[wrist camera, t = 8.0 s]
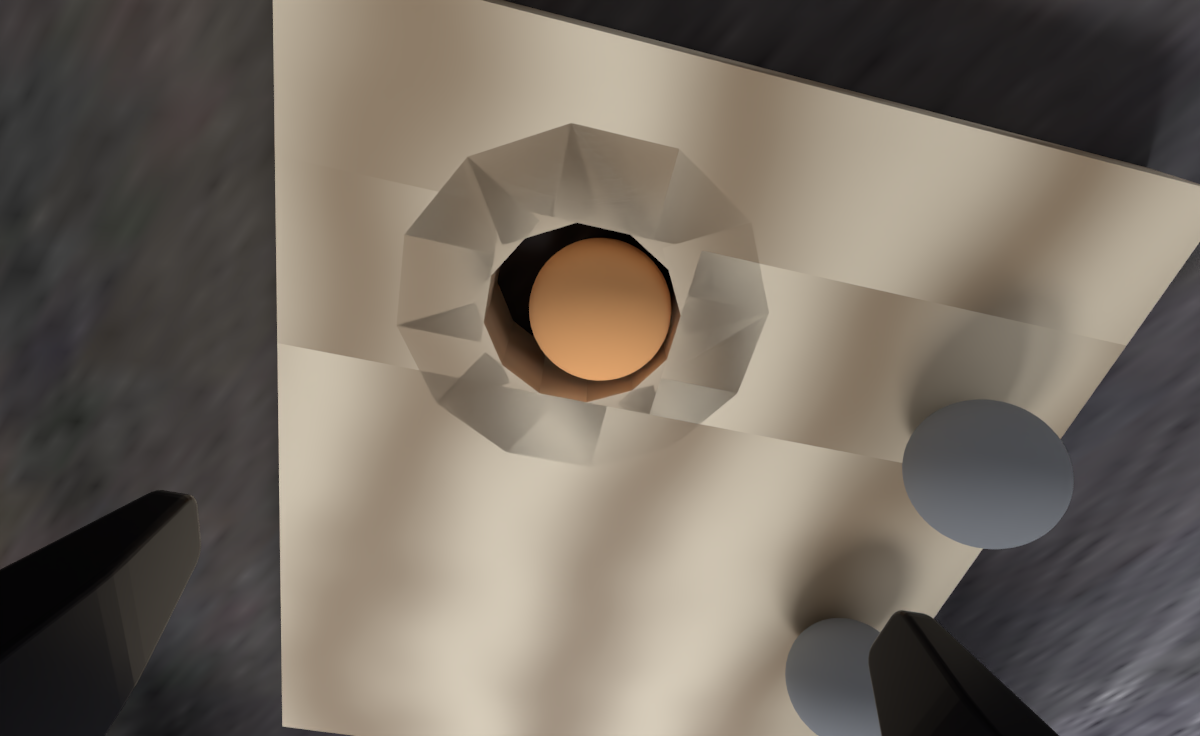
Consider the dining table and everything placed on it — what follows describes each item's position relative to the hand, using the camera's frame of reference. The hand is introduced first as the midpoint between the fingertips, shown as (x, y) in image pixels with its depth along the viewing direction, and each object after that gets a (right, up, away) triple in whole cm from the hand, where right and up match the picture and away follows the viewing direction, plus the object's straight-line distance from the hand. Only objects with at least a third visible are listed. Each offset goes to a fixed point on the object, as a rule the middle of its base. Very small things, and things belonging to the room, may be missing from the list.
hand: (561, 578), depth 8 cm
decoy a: (+8, -7, +11) cm, 15 cm away
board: (+2, -1, +13) cm, 13 cm away
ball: (+1, +4, +8) cm, 9 cm away
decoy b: (+10, 0, +7) cm, 12 cm away
